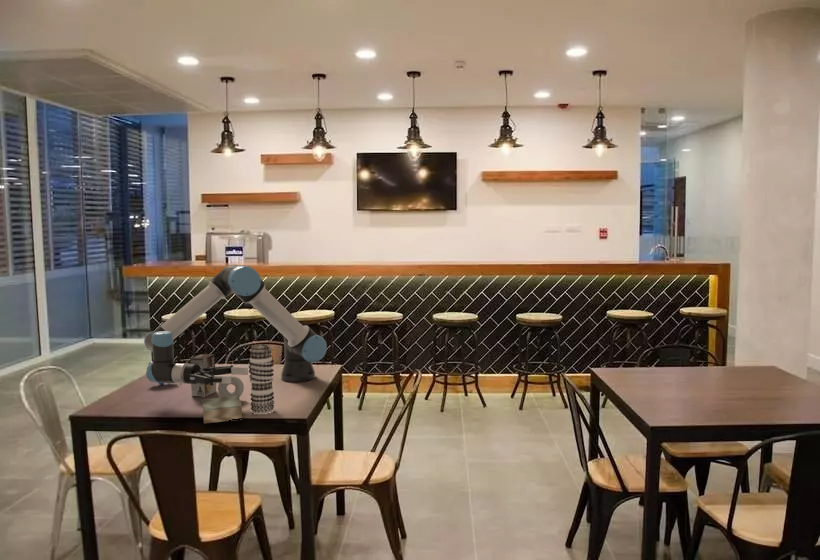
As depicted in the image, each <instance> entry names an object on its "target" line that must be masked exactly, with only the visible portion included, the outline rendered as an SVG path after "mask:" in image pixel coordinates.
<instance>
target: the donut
mask: <svg viewBox="0 0 820 560" xmlns="http://www.w3.org/2000/svg"><path fill="white" fill-rule="evenodd" d="M230 376H231V382H232V383H231V384H224V383H218V385H217V392H218V394H219V396H220V398H221V397H232V396H239V398H240V397H241V396H243V393H244V389H245V386H244V382H243V380H242V379H241V378H239V377H237V376H236V375H230ZM230 385H233V386H234V387H235V389H234V390H233V391H229V390H228V386H230Z"/></svg>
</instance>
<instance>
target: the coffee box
mask: <svg viewBox="0 0 820 560" xmlns="http://www.w3.org/2000/svg"><path fill="white" fill-rule="evenodd" d="M215 355H216V354H215V353H211V354H210V353H208V354H207V353H201V354H198V355H195V356H193V357H190V358H189V364H198V365H199V366H200V368H201V369H203V368H207V367H216V356H215ZM213 378H214V377H213ZM190 387H191V388H190V389H191V397H192V396H202V397H201V398H206V397H205V396H207V397H209V396H211V395H212V394H214V393H216V392H217V383H214V382H213V385H210V383H209V384H208V385H206V384H202V383H196V384H190ZM210 394H211V395H210ZM208 395H209V396H208Z"/></svg>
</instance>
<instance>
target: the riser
mask: <svg viewBox="0 0 820 560" xmlns="http://www.w3.org/2000/svg"><path fill="white" fill-rule="evenodd" d="M202 414H203V424H211V423H212V424H213V423H221V422H229V420H231V421H233V420H232V419H238V418H242V419H243V406H242V402H241V399H240V397H239V396H232V397H221V396H220V397H213V398H204V399H202Z"/></svg>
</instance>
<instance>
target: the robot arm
mask: <svg viewBox="0 0 820 560" xmlns="http://www.w3.org/2000/svg"><path fill="white" fill-rule="evenodd" d="M232 294H234V295H235V296H236V297H237V298H238V299H240V301H242V303H244V304H250V305H251V306H252V307H253V308H254V309H255V310H256V311H258V313H259V314H261V316H263V317H264V318H265V319H266V320H267V321H268V323H270V325H272V327H274V328H275V329H276V330H277V331H278V332H279V333H280V334H281V335H282V336H283V345H284V346H283V348H284V349H283V350H284V364H283V367H282V370H281V375H280V376H281V378H280V379H281V380H282V381H284V382H291V383H292V382H293V383H294V382H295V383H296V382H297V383H299V382H301V383H302V382H306V381H307V380H308V381H310V380H311V381H312V380H313V379H315V378H316V372H315V368H314V366H313V363H315V362H319V361H320V360H322V359H323V358H324V357H325V355H326V353H327V346H328V345H327V341H326V340H325V339H324V337H323V336H321V335H319V334H317V333H315V331H314V330H313V329H312V328H311V327H309V325H303V324H301V323H300V322H299V320H298V319H296V317H294V316H293V315H292V313H290V311H288V309H287V308H285V307H284V305H283V304H281V303H280V302H279V300H277V299H276V298H275V296H273V295H272V293H270V292H269V291H268V290H267V289H266V283H265V282H264V281H263V279H261V276H260V274H259V273H258V272H257V270H256V269H255V268H253V267H252V266H251V267H250V266H248V265H241V264H231V265H228V266H226V267H224V268H222V270H221V271H219V272H218V273H217V274H216V275H215V276H213V277H212V278H211V279H210V280H209V281H208V284H207V286H206V287H205V288H203V289H202V290H201V291H200V292H199V293H197V294H196V295H195V296H193V298H191V300H189V301H188V302H187V303H186V304H184V305H183V306H182V307H181V308H179V310H178V311H177V312H175V313H173V314H172V316H170V317H169V318H168V319H167V320H165V322H163V323H162V324H161V325H160V326H159V327H157V328H156V329H155V330H153V331H150V332H148V333H147V334H145V337H144V338H143V339H144V340H143V341H144V346H146V347H145V348H146V349H147V350H148V351H150V352H152V362H153V363H150V362H149V363H150V364H149V363H148V365H147V366H146V371H145V376H146V379H147V380H148V381H149V382H151V383H157V384H159V383H164V384H179V385H180V386H182V385H183V384H188V385H191V384H196V383H202V384H206V385H208V384H209V383H210V385H213V382H214V383H216V384H219V383H224V384H229V385H232V384H231V383H232V382H231V376H232V375H233V376H236V375H237V376H240V375H241V376H248V375H249V367H247V366H245V367H243V366H242V367H240V366H238V367H237V366H236V367H235V366H234V365H233V364H230V365H226V366H224V365H223V366H215V367H207V368H203V369H201V368H200V366H199V365H198V364H190V363H187V362H186V363H180V362H179V363H177V362H175V357H174V356H175V355H174V354H175V349H174V340H175V339H176V338H177V337H178V336H179V335H181V334H182V333H183V332H185V330H187V329H188V328H189V327H190V326H192V324H194V322H196V321H197V320H198V319H199V318H201V316H203V315H205V313H206V312H208V311H209V310H210V309H211V308H212V307H213V306H214V305H216V304H217V303H218V302H220V300H225V299H226V298H228V297H229V296H230V295H232ZM213 377H214V378H213ZM308 381H307V382H308Z"/></svg>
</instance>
